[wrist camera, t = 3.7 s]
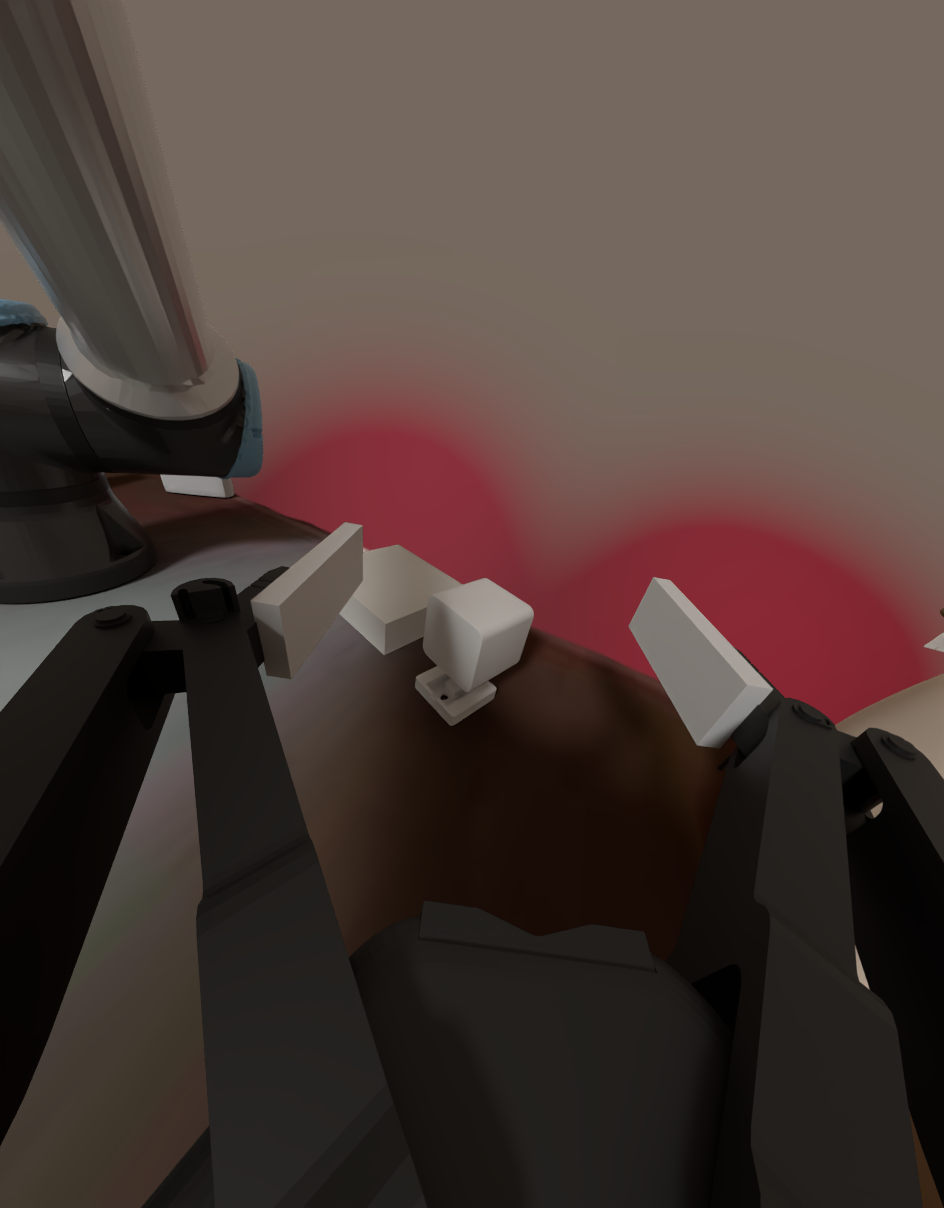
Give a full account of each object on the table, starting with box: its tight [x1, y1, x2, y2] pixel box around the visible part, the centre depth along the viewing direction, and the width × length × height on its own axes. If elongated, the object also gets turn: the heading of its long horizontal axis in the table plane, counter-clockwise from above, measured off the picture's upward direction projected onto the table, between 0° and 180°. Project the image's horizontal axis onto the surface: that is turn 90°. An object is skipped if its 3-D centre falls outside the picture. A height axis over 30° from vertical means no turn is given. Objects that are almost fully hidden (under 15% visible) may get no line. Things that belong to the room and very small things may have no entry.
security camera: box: [415, 578, 534, 726], centre depth 29 cm, size 6×7×10 cm
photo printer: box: [160, 475, 234, 498], centre depth 57 cm, size 10×4×12 cm, turn 98°
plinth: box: [339, 545, 463, 655], centre depth 41 cm, size 14×12×4 cm
